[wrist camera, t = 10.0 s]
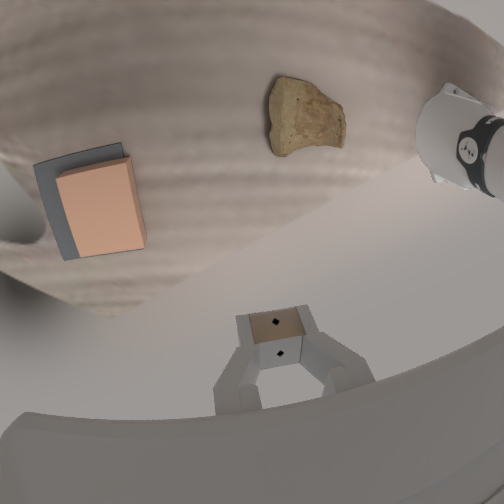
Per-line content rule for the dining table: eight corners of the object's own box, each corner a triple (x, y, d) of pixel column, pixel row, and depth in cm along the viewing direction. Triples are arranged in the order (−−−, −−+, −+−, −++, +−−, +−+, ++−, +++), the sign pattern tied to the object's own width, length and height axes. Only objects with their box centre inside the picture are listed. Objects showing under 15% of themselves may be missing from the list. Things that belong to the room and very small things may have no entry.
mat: (121, 142, 33) (120, 143, 33) (143, 248, 42) (143, 249, 42) (33, 165, 32) (33, 165, 31) (64, 259, 40) (63, 260, 40)
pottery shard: (270, 155, 39) (341, 156, 39) (269, 161, 36) (348, 163, 35) (268, 78, 34) (343, 81, 33) (267, 76, 30) (351, 80, 29)
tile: (125, 162, 32) (55, 178, 31) (144, 248, 38) (80, 257, 37) (130, 156, 34) (64, 170, 33) (147, 236, 41) (86, 245, 40)
